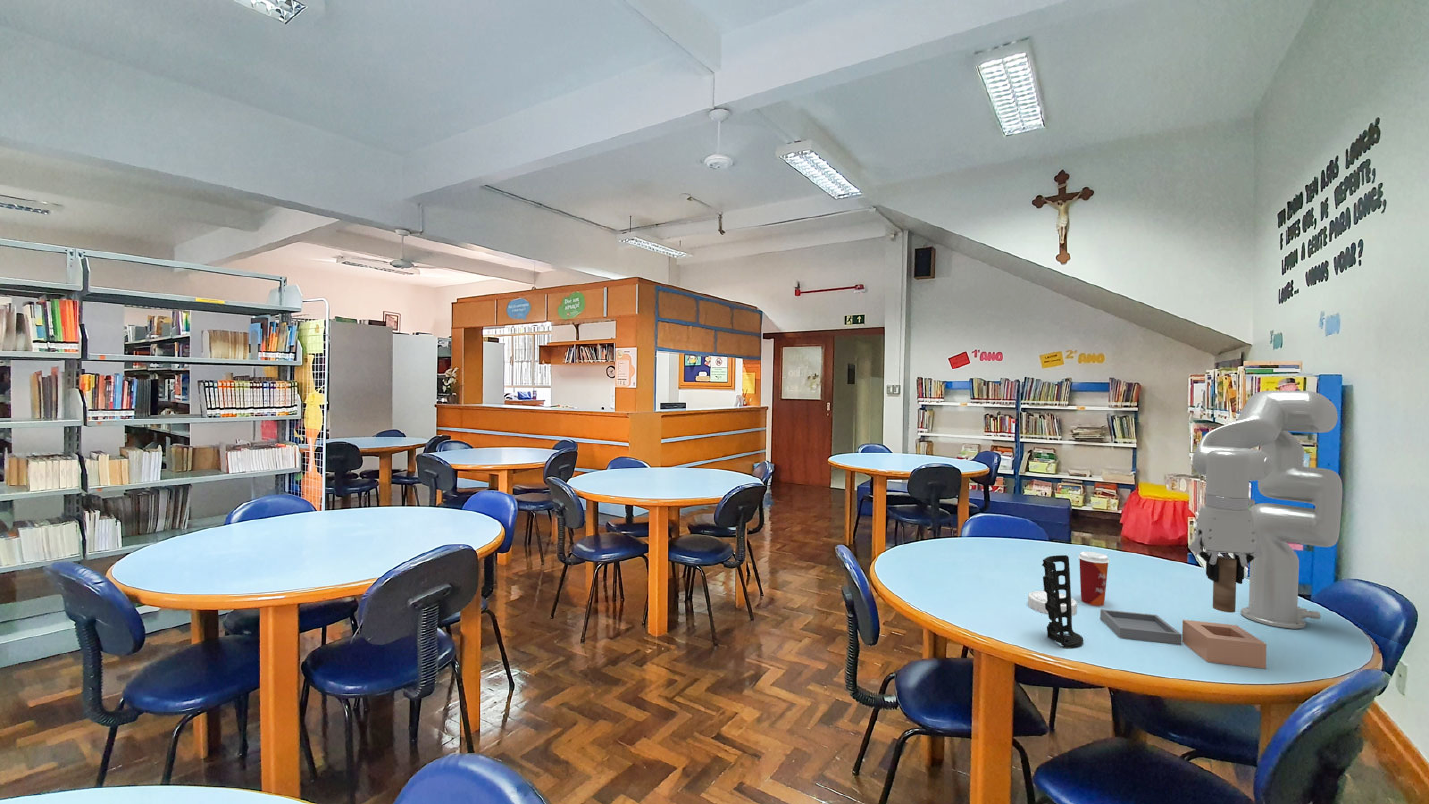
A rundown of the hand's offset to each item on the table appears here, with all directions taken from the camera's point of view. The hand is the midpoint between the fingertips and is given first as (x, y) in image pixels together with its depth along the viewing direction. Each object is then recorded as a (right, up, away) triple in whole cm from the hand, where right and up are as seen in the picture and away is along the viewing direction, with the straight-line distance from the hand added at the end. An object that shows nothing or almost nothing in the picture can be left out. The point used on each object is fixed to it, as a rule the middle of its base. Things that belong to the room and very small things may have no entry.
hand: (1224, 580), depth 135 cm
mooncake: (-24, -17, +28) cm, 41 cm away
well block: (-1, -17, 0) cm, 18 cm away
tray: (-10, -17, +13) cm, 24 cm away
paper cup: (-9, -17, +34) cm, 39 cm away
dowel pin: (0, -7, 0) cm, 7 cm away
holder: (-34, -17, +7) cm, 39 cm away
